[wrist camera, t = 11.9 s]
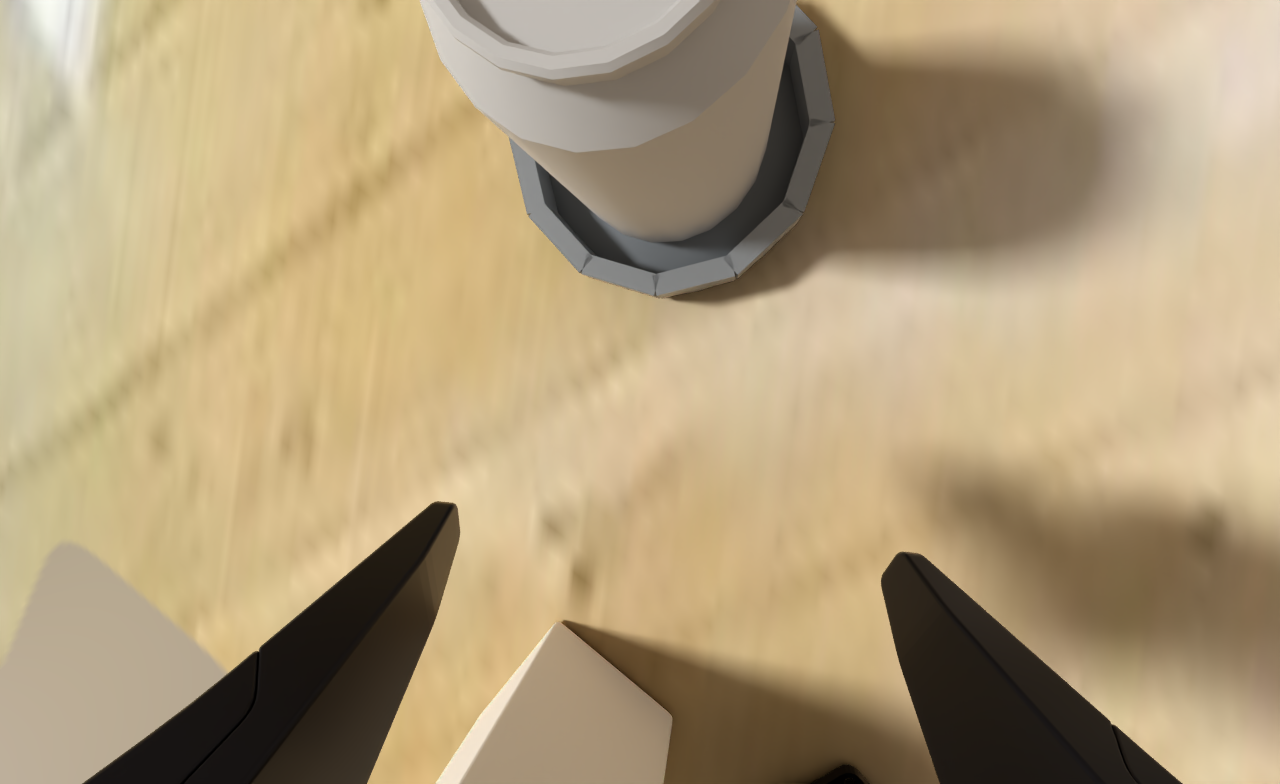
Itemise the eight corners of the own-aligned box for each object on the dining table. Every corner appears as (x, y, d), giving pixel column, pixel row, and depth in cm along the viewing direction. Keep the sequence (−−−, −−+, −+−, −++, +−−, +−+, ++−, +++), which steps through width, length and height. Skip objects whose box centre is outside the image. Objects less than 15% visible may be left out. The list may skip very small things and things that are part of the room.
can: (624, 17, 18) (442, -538, 7) (802, 90, 18) (950, -394, 6) (549, 202, 20) (291, 13, 8) (710, 278, 19) (682, 189, 7)
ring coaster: (884, 143, 18) (904, 118, 16) (660, 351, 20) (652, 353, 18) (678, -75, 18) (671, -127, 16) (483, 156, 21) (456, 136, 19)
